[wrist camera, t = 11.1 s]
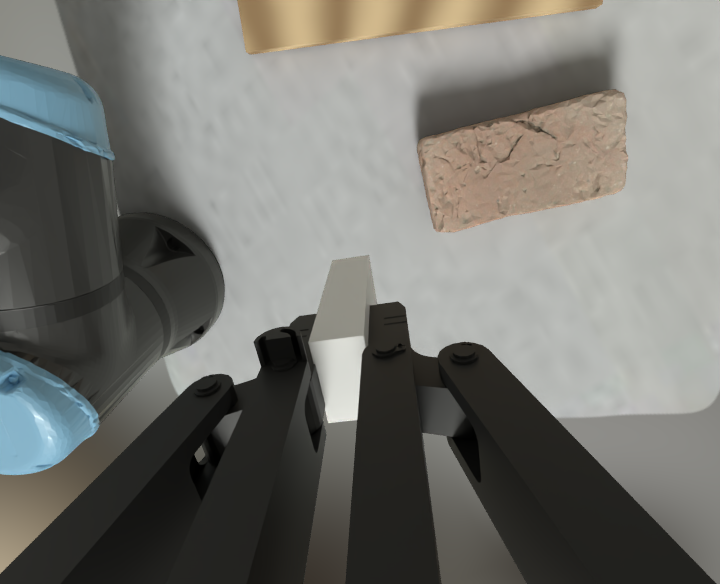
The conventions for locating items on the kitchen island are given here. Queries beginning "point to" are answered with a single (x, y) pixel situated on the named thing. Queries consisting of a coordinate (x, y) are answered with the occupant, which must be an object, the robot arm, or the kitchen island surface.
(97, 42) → the kitchen island surface
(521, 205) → the brick
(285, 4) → the plank
